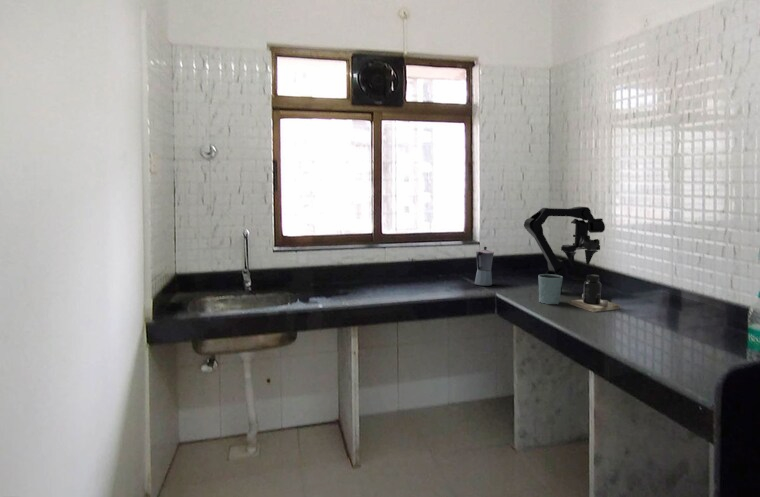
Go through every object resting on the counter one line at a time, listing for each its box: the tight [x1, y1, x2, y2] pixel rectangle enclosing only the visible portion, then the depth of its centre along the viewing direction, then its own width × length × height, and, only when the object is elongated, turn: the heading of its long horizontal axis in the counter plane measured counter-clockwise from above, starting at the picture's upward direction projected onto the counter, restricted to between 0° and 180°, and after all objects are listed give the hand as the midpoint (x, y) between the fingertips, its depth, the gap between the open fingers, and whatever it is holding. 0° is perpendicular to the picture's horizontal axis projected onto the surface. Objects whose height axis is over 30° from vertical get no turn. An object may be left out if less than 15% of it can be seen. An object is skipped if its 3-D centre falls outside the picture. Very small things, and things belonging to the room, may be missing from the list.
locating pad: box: [569, 293, 621, 313], centre depth 210 cm, size 14×14×4 cm
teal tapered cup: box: [537, 273, 564, 305], centre depth 217 cm, size 10×10×12 cm
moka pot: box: [474, 246, 494, 287], centre depth 256 cm, size 10×15×20 cm, turn 148°
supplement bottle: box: [582, 274, 602, 305], centre depth 209 cm, size 7×7×12 cm
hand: (580, 265), depth 237 cm, fingers open, 9 cm apart
